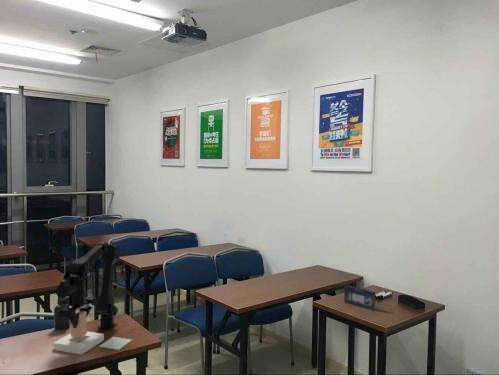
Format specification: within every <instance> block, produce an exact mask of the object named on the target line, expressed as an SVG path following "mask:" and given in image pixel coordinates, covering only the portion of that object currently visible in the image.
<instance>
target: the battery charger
mask: <svg viewBox="0 0 499 375" xmlns="http://www.w3.org/2000/svg"><path fill="white" fill-rule="evenodd" d="M64 307H69V308H71V306H68V305H65V306H63V307H61V306H58V304H56V305H55V306H54V307H53V321H54V324H53V325H54V326H53V328H54V330H55V331H57V330H62V329H63V330H64V329H68V328H71V321H70V319H69V318H65V317H58V311H59V310H60V309H62V308H64Z"/></svg>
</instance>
